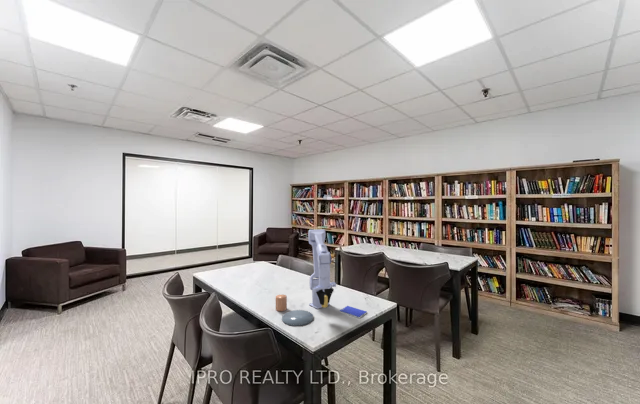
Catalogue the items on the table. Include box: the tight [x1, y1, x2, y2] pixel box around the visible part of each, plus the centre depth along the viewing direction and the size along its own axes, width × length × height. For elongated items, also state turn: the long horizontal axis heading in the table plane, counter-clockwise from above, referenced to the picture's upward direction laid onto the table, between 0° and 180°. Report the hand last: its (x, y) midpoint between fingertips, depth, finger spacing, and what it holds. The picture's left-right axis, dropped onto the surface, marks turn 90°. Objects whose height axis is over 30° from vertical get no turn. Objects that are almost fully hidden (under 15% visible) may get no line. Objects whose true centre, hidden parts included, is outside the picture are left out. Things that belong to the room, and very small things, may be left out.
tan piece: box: [275, 294, 288, 312], centre depth 145 cm, size 6×6×7 cm
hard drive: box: [339, 305, 368, 319], centre depth 139 cm, size 2×8×12 cm
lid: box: [281, 309, 314, 327], centre depth 132 cm, size 16×16×1 cm
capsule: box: [322, 295, 329, 309], centre depth 131 cm, size 3×3×5 cm
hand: (324, 303), depth 131 cm, fingers closed on capsule, 3 cm apart
